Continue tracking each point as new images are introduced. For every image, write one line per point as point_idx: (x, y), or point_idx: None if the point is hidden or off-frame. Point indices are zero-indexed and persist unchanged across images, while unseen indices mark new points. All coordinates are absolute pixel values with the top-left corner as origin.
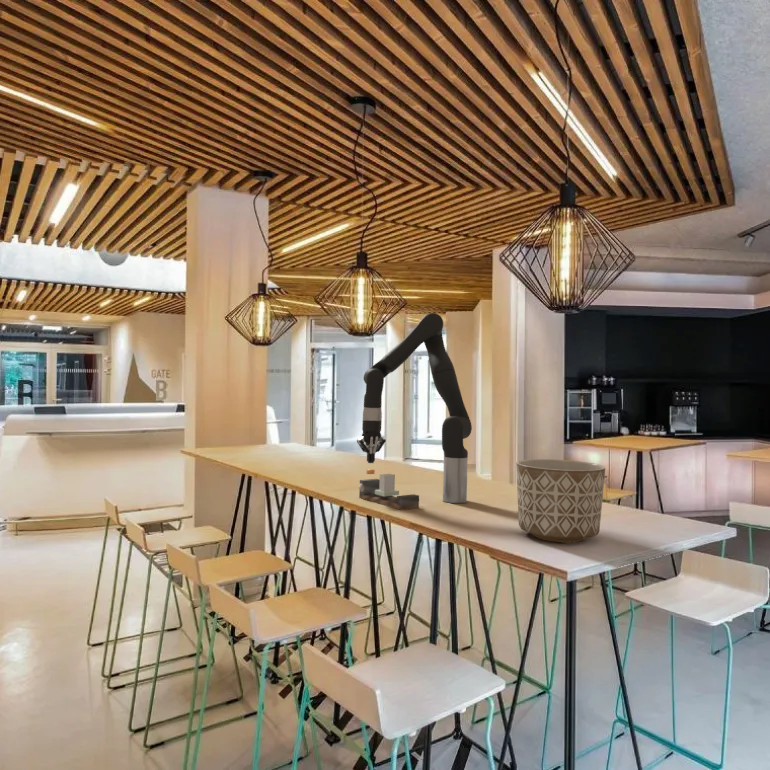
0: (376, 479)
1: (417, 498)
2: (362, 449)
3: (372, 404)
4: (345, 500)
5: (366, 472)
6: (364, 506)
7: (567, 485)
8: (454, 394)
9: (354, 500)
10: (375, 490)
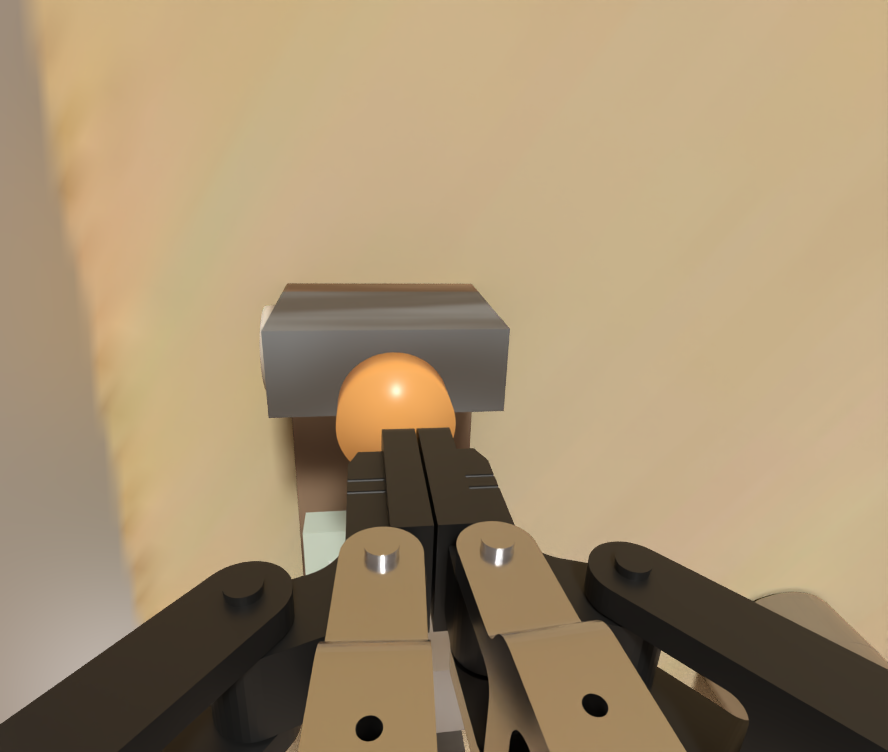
0: (469, 381)
1: None
2: (158, 648)
3: None
4: (103, 325)
5: (342, 387)
6: (146, 576)
7: None
8: None
9: (184, 361)
10: (303, 540)
